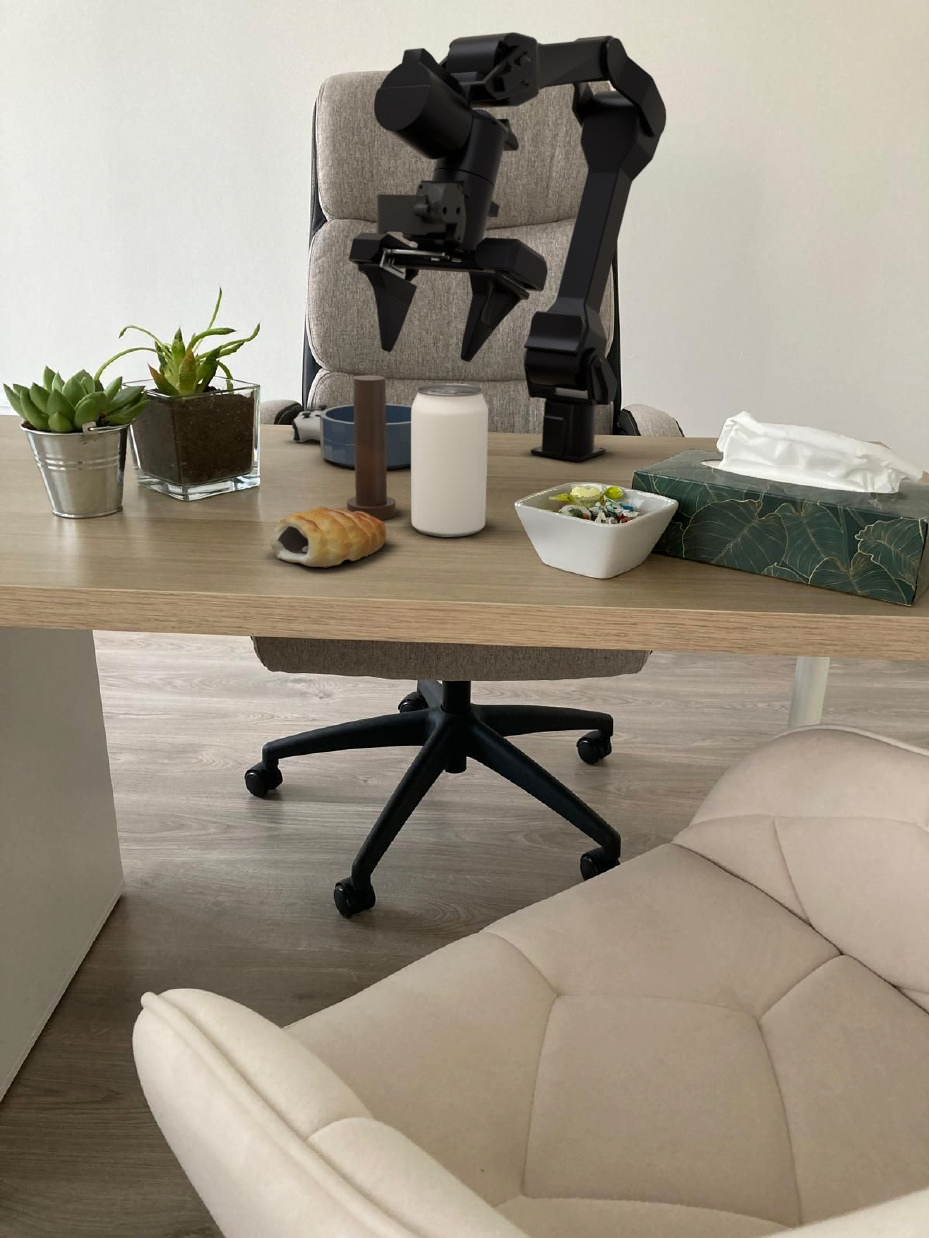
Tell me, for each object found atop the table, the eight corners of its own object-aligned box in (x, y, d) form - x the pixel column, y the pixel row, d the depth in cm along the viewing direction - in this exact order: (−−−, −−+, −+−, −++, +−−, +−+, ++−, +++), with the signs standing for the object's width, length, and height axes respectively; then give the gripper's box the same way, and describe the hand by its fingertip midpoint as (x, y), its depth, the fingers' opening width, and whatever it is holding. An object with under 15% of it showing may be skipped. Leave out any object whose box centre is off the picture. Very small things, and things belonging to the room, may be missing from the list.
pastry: (351, 531, 88) (350, 488, 86) (407, 549, 84) (407, 504, 82) (263, 556, 81) (261, 510, 80) (320, 577, 77) (318, 528, 76)
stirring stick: (369, 504, 96) (367, 372, 91) (405, 513, 94) (405, 377, 89) (337, 514, 93) (333, 377, 88) (373, 523, 90) (371, 383, 86)
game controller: (349, 439, 118) (311, 401, 117) (317, 470, 120) (279, 433, 118) (358, 422, 127) (323, 387, 126) (329, 452, 129) (293, 418, 127)
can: (477, 541, 86) (481, 397, 82) (403, 535, 87) (402, 393, 83) (491, 520, 92) (495, 384, 87) (421, 515, 93) (421, 381, 89)
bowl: (371, 442, 121) (371, 399, 120) (454, 457, 115) (454, 412, 113) (298, 460, 112) (296, 414, 110) (383, 477, 106) (382, 429, 104)
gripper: (327, 144, 90) (289, 321, 91) (500, 140, 80) (455, 340, 81) (404, 194, 99) (369, 354, 101) (569, 197, 89) (527, 375, 90)
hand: (424, 355), depth 93 cm, fingers open, 9 cm apart
